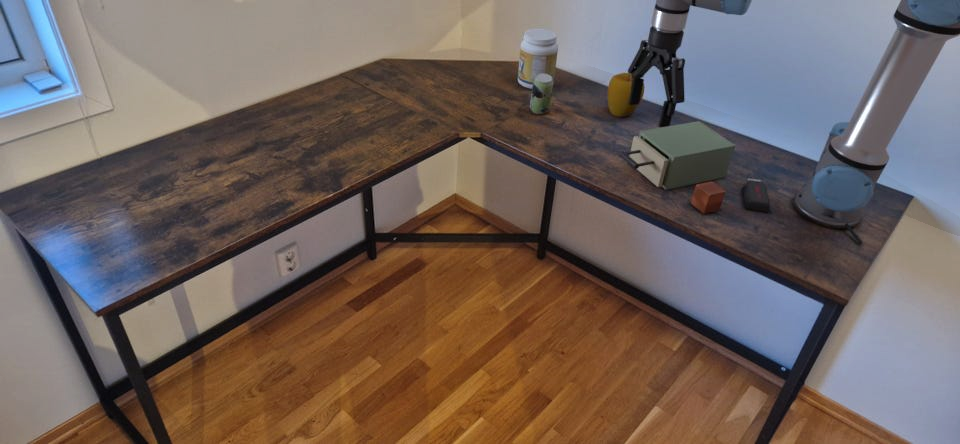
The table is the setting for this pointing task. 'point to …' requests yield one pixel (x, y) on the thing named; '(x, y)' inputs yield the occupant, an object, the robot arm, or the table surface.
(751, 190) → the usb drive
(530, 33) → the supplement tub
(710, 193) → the block
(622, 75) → the apple
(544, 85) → the beverage can
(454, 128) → the table surface
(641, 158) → the drawer
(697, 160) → the cabinet
